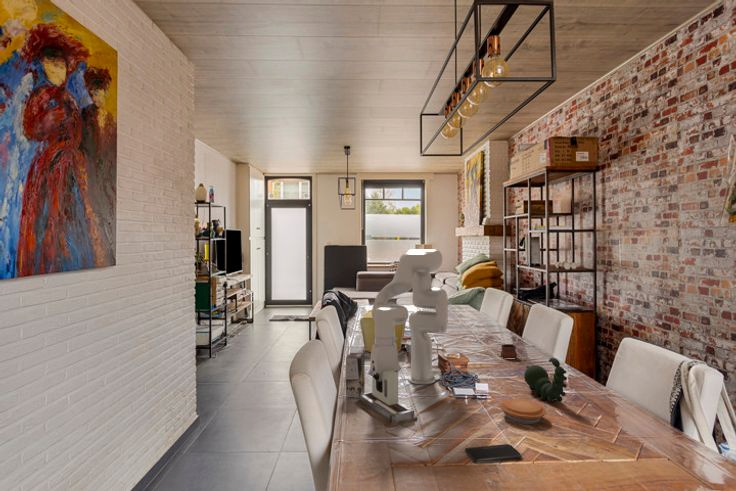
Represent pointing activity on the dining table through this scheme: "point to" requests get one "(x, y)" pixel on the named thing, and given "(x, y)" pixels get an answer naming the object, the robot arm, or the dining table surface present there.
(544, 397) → the toy figurine
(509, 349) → the ceramic pot
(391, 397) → the pale green block
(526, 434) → the dining table surface
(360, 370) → the coffee box
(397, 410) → the grey rectangular tray
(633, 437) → the dining table surface
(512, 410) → the pie
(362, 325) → the picnic basket
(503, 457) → the phone
